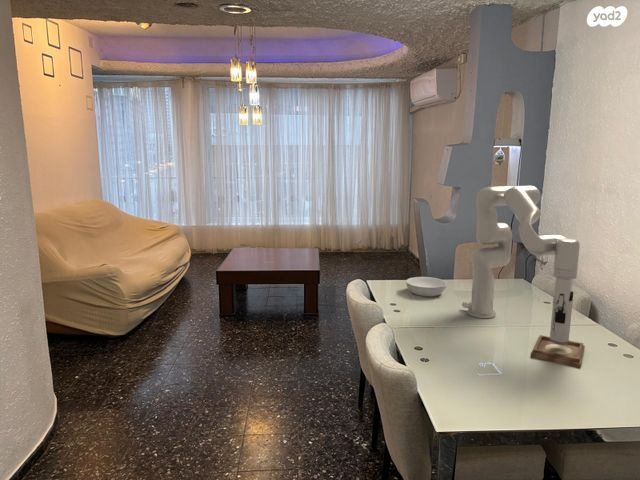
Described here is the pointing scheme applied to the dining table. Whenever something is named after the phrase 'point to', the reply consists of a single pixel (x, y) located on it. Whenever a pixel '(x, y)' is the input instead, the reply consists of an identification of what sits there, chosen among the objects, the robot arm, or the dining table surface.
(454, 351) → the dining table surface
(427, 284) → the serving bowl
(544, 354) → the wooden tray
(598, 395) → the dining table surface
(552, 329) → the travel mug
